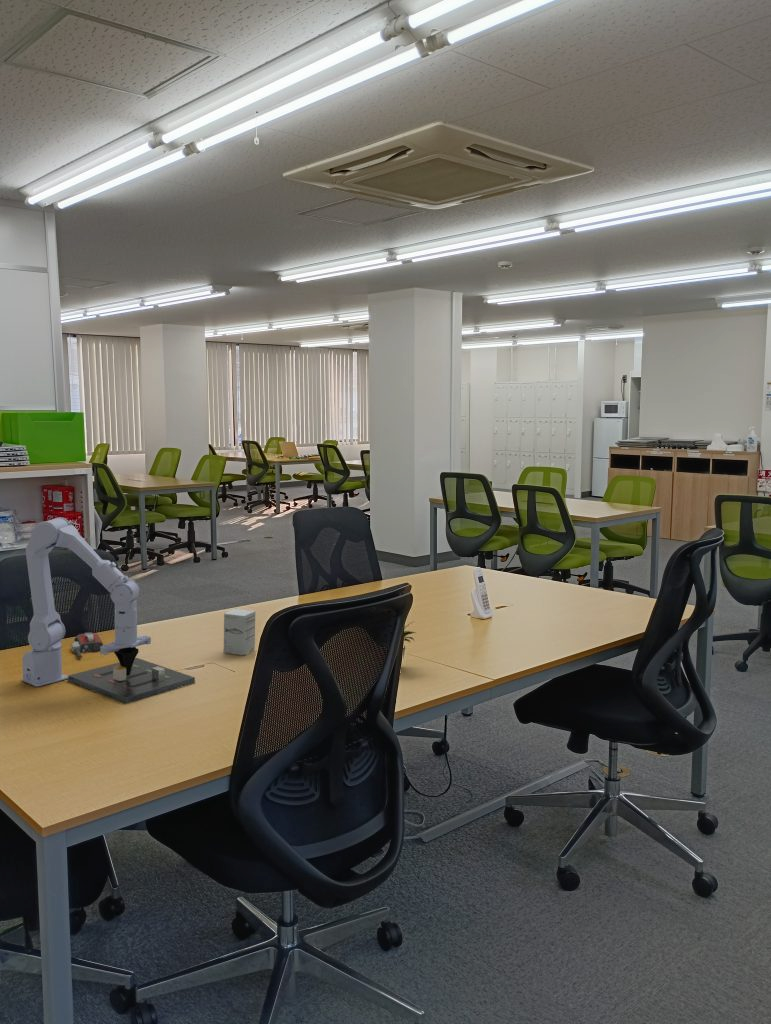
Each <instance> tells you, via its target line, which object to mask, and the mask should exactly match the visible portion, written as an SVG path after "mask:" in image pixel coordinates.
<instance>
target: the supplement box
mask: <svg viewBox="0 0 771 1024" xmlns="http://www.w3.org/2000/svg"><path fill="white" fill-rule="evenodd" d="M256 612H257V611H256V610H249V609H242V608H234V609H231V610H228V611H226V612H225V613H224V614H223V654H230V653H231V655H237V654H239V655H238V656H242V655H245V654H246V655H248V654H249V653H248V652H250V651H252V650H253V651H255V650H254V649H256V648H255V646H256V645H255V644H256ZM253 651H252V652H253ZM247 653H248V654H247ZM250 653H251V652H250ZM246 655H245V656H246Z"/></svg>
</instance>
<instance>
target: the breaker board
mask: <svg viewBox="0 0 771 1024" xmlns="http://www.w3.org/2000/svg"><path fill="white" fill-rule="evenodd" d="M119 665H120V662H119V661H118V662H115V663H112V664H108V665H104V666H101V667H96V668H92V669H87V670H85V671H80V672H78V673H77V672H76V673H72V674H69V675H67V676H68V679H67V681H68V682H70V683H73V684H75V685H77V686H81V687H83V688H85V689H88V690H91V691H93V692H95V693H98V694H101V695H102V696H105V697H107V698H110V699H113V700H115V701H118V702H121V703H122V704H125V705H126V704H129V703H133V702H137V701H140V700H142V699H145V698H149V697H153V696H155V695H156V696H157V695H159V694H163V693H166V692H169V691H172V689H173V690H176V689H178V687H179V688H182V687H181V686H183V687H186V686H189V685H192V684H195V683H196V682H195V681H196V680H195V679H196V678H195V677H194V676H192V675H189V674H185V673H182V672H179V671H177V670H173V669H171V668H167V667H166V666H165V667H164V666H162V665H159V664H158V663H157V664H156V663H153V662H150V661H148V660H144V659H142V658H139V657H136V658H135V660H134V662H133V665H132V668H131V672H130V675H129V676H126V680H122V681H118V680H115V679H113V667H115V666H119ZM120 666H121V665H120ZM194 682H195V683H194ZM191 683H192V684H191ZM188 684H189V685H188ZM185 685H186V686H185ZM175 688H176V689H175Z"/></svg>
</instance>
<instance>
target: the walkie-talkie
mask: <svg viewBox="0 0 771 1024" xmlns="http://www.w3.org/2000/svg"><path fill="white" fill-rule="evenodd" d="M101 646H104V643H103V641H102V640H101V638H100V636H99V634H97V633H95V632H84V633H79V634H78V635H77V634H76V636H75V637H74V642H72V643H71V651H72V654H76V655H77V658H80V659H81V658H82V657H83V656H82V654H81V653H90V652H91V653H92V652H100V647H101Z"/></svg>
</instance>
